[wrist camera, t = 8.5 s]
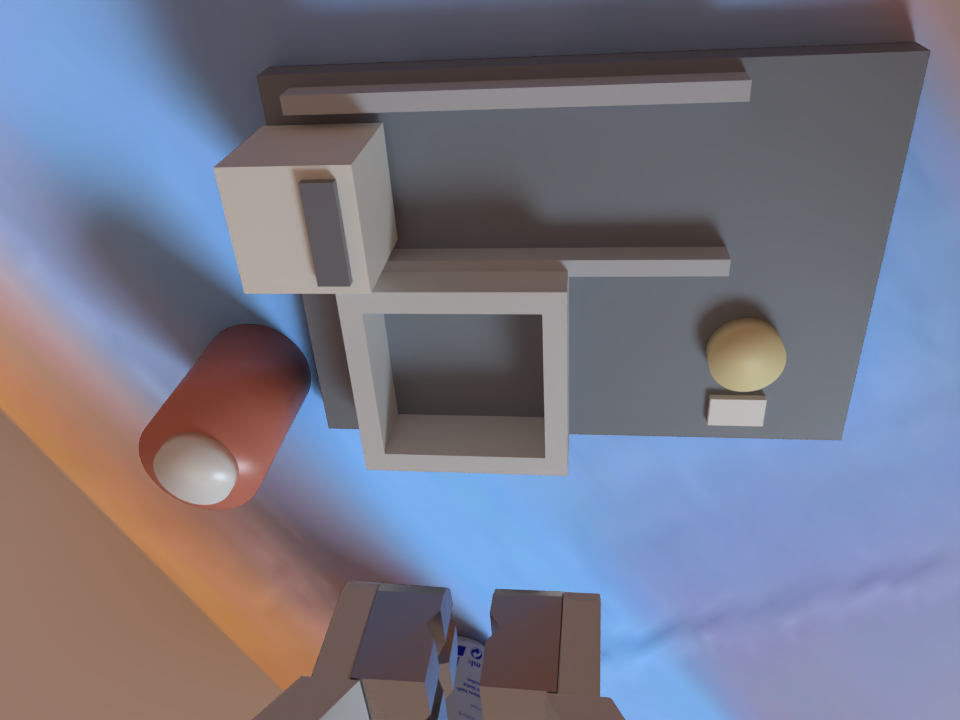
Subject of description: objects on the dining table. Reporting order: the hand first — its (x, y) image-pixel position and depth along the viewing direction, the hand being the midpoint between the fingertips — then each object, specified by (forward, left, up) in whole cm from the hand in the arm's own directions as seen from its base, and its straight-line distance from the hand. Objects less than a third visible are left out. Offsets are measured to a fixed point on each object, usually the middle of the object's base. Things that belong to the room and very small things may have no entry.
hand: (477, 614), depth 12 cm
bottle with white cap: (+12, +8, -19) cm, 24 cm away
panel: (-1, +3, -19) cm, 19 cm away
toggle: (+7, 0, -17) cm, 19 cm away
